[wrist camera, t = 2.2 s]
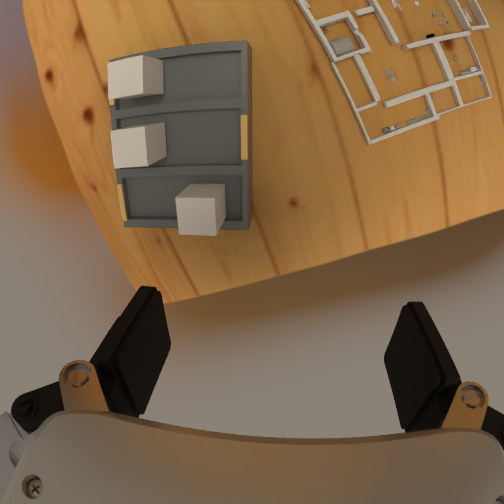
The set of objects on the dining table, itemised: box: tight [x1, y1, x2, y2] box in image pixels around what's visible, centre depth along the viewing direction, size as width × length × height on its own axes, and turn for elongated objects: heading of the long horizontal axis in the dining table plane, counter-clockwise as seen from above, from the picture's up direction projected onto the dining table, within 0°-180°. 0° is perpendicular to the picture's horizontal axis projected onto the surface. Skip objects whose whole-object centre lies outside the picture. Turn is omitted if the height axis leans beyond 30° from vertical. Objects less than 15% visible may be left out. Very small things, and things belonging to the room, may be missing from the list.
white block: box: [110, 122, 167, 168], centre depth 22 cm, size 3×3×4 cm
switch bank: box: [109, 41, 252, 230], centre depth 24 cm, size 12×16×4 cm
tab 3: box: [175, 183, 226, 236], centre depth 24 cm, size 3×3×4 cm
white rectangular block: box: [108, 55, 164, 100], centre depth 19 cm, size 3×3×4 cm
